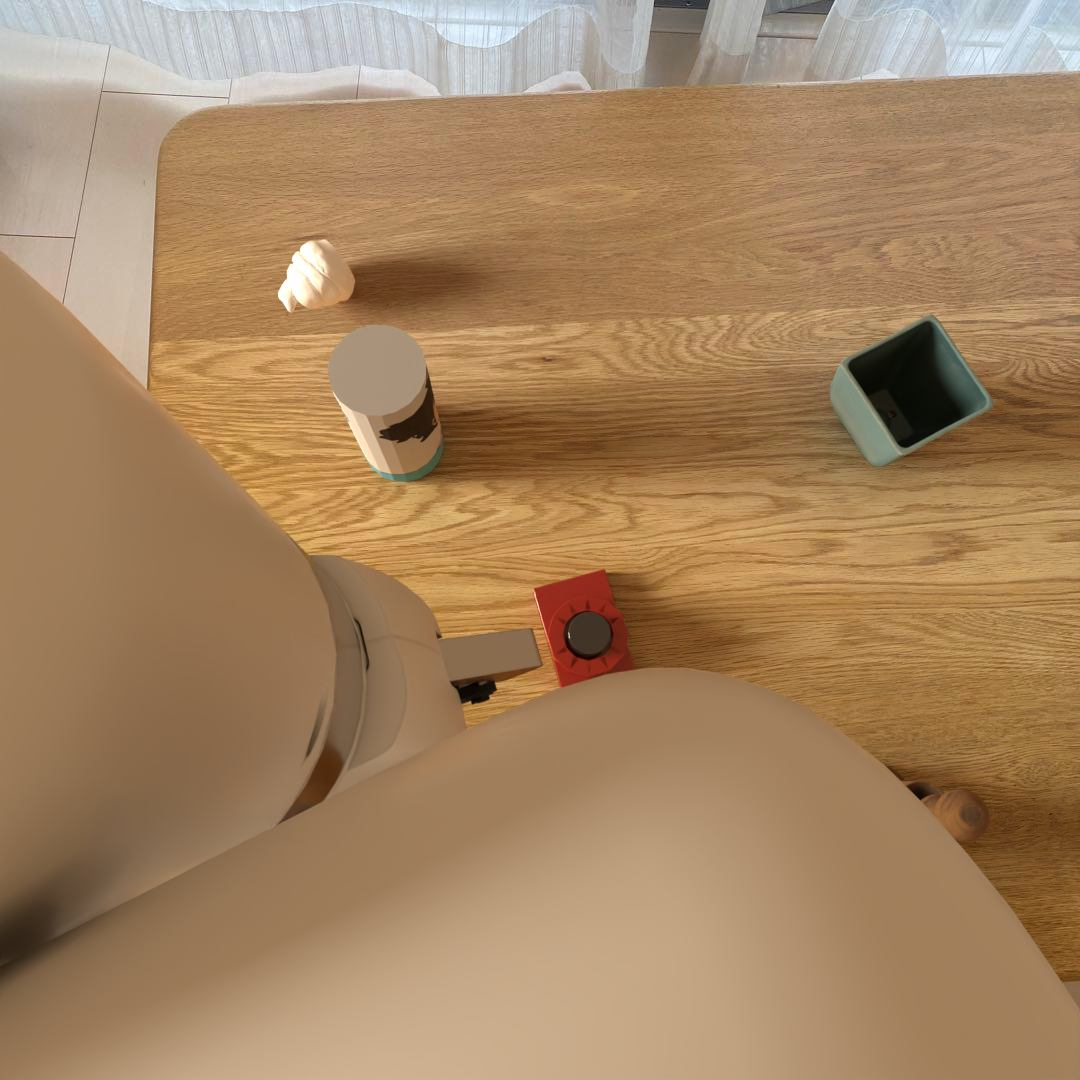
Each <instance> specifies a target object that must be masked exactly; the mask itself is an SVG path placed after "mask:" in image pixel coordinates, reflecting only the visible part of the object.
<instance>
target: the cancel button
mask: <svg viewBox="0 0 1080 1080" xmlns="http://www.w3.org/2000/svg"><path fill="white" fill-rule="evenodd" d="M610 636H611V631H610V626H609V624H608V622H607V621H606V620H605V618H603V617H602V616H601V615H599V614H597V613H593V612H585V613H582V614H579V615H578V616H576V617H575V618H574V619H573V620H572V622H571V624H570V626H569V629H568V634H567V637H568V642H569V645H570V647H571V648H572V649H573V650H574V651H575V652H576V653H577V654H579V655H582V656H586V657H590V656H595V655H597V654H599V653H601V652H602V651H603V650H604V649H605V647H606V646H607V644H608V643H609V640H610Z"/></svg>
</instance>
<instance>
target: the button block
mask: <svg viewBox="0 0 1080 1080" xmlns="http://www.w3.org/2000/svg"><path fill="white" fill-rule="evenodd" d="M532 594H533V597H534V600H535V601H534V602H535V604H536V608H537V612H538V615H539V618H540V622H541V625H542V629H543V632H544V636H545V639H546V643H547V646H548V650H549V653H550V657H551V660H552V663H553V667H554V671H555V675H556V677H557V681H558V685H559V688H562V687H565V686H569V685H572V684H576V683H579V682H582V681H586V680H589V679H592V678H596V677H599V676H602V675H606V674H611V673H618V672H624V671H630V670H637V669H636V666H635V663H634V659H633V657H632V653H631V650H630V647H629V643H628V642H629V639H630V638H629V637H630V633H629V630H628V627H627V624H626V620H625V617H624V615H623V612H621V611H620V610H619V609H618V608H617V604H616V602H615V601H616V600H615V598H614V594H613V591H612V588H611V585H610V582H609V578H608V575H607V572H606V569H604V568H603V569H599V570H595V571H591V572H588V573H584V574H580V575H578V576H574V577H570V578H567V579H566V578H565V579H563V580H560V581H556V582H552V583H548V584H544V585H541V586H537V587H534V588H533V589H532ZM585 612H593V613H597V614H599V615H601V616H602V617H603V618H605V620H606V621H607V622H608V624H609V626H610V631H611V636H610V640H609V643H608V644H607V646H606V647H605V649H604V650H603V651H602V652H601V653H599V654H597V655H595V656H590V657H586V656H582V655H579V654H577V653H576V652H575V651H574V650H573V649H572V648H571V647H570V645H569V642H568V637H567V634H568V629H569V626H570V624H571V622H572V620H573V619H574V618H575V617H576V616H578V615H579V614H582V613H585Z"/></svg>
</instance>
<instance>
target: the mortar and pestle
mask: <svg viewBox="0 0 1080 1080" xmlns="http://www.w3.org/2000/svg"><path fill="white" fill-rule="evenodd" d="M884 765H885V766H886V767H887V768H888V769H889V770H890V771H891V772H892V773H893V774H894V775H895V776H896V777H897V778H898V779H899V780H900V781H901V782H902V783H903V784H904V785H905V786H906V787H907V788H908V789H909V790H910V791H911V792H912V793H913V794H914V795H915V796H916V797H917V798H918V799H919V800H920V801H921V802H922V803H923V804H924V805H925V806H926V807H927V808H928V809H929V810H930V811H931V812H932V813H933V815H934V816H935V817H936V818H937V819H938V820H939V822H940V823H941V824H942V825H943V826H944V827H945V829H946V830H947V831H948V832H949V833H950V834H951V835H952V837H953V838H954V839H955V840H956V841H957V842H964V843H965V842H967V843H968V842H974V841H977V840H979V839H980V838H982V837H983V836H984V835H985V834H986V833H987V831H988V830H989V827H990V825H991V824H990V822H991V813H990V810H989V807H988V805H987V803H986V802H985V801H984V799H983V798H982V797H980V796H979V795H978V794H976V793H975V792H973V791H971V790H968V789H963V788H954V789H951V790H948V791H946V792H944V790H943V789H941V788H940V787H939V786H937V785H936V784H934V783H931V782H929V781H923V780H906V779H905V778H904V777H903V776H902V775H901V774H900V773H899V772H898V771H897V770H895V769H894V768H892V767H890V766H889V765H886V764H884Z"/></svg>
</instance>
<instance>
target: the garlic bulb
mask: <svg viewBox="0 0 1080 1080" xmlns="http://www.w3.org/2000/svg"><path fill="white" fill-rule="evenodd" d="M291 261H292V262H293V263H290V264H289V265H288V268H287V270H286V279H285V280H284V282H282V284H281V286H280V288H279V290H278V293H277V296H278V299H279V301H281V302H282V304H283V305H284V307H285V308H286V310H287V311H288V313H294V312H295V308H296V305H297V304H301V305H302V306H304V307H305V309H318V308H321V307H329V306H333V305H336V304H337V303H339V302H345V301H348V300H349V299H350V298H351V296H352V294H353V292H354V288H355V285H356V279H355V276H354V274H353V271H352V270H351V268H350V266H349V265H348V264H347V262H346V260H345V259H344V258H343V256H342V255H341V254H340V252H339V251H338V249H336V248H335V246H334V245H332V244H331V243H330V242H329V241H328V240H327V239H320V240H309V241H307V242H304V244H303V245H301V247H300V248H299V250H297V251H296V252H295V253H294V254H293V255H292V258H291Z"/></svg>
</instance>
